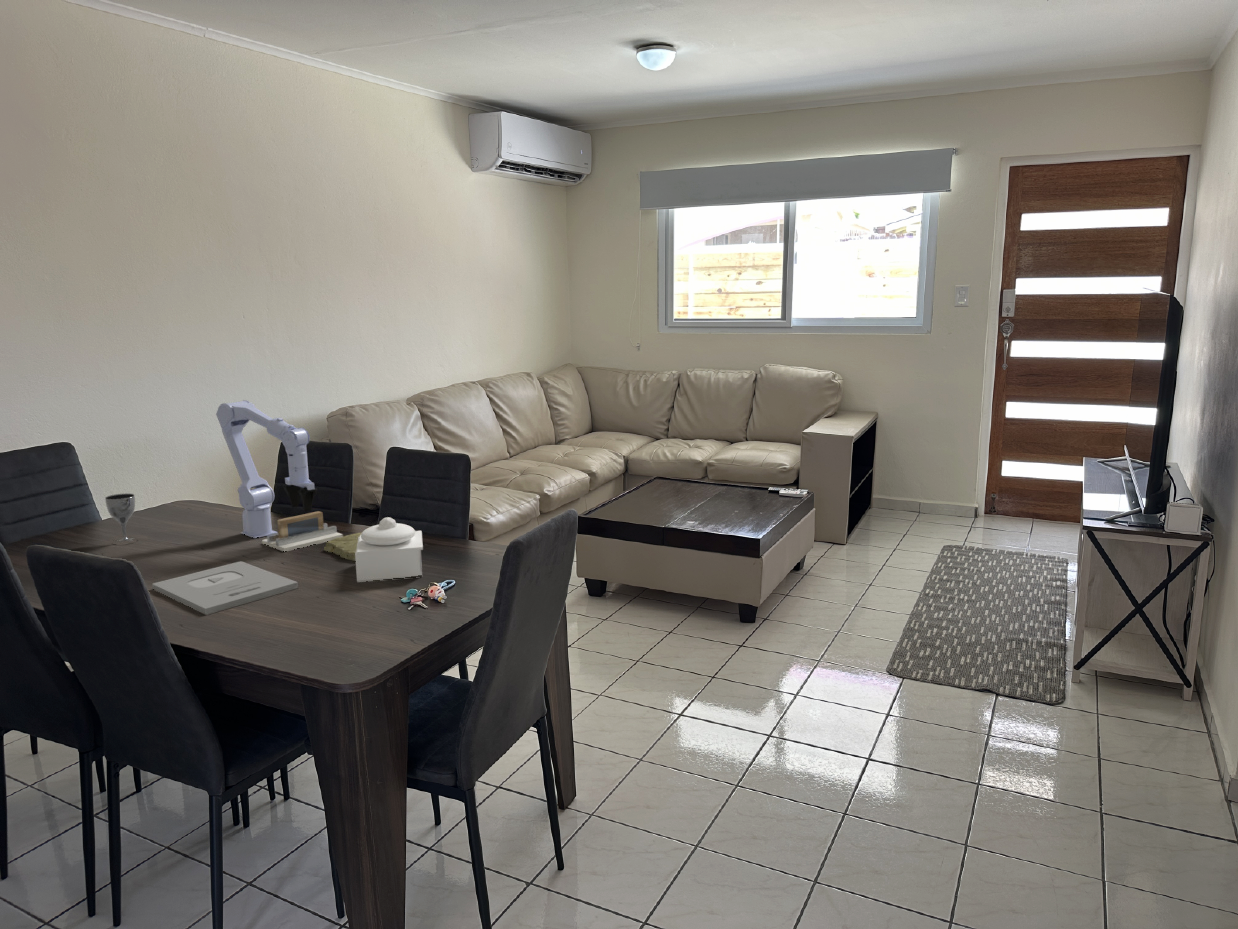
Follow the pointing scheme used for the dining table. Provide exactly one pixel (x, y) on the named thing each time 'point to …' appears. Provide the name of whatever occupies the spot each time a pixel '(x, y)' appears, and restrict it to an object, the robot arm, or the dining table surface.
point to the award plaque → (224, 587)
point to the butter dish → (388, 552)
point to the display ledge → (302, 538)
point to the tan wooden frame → (300, 524)
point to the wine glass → (121, 509)
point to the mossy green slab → (344, 546)
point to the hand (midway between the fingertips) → (301, 508)
